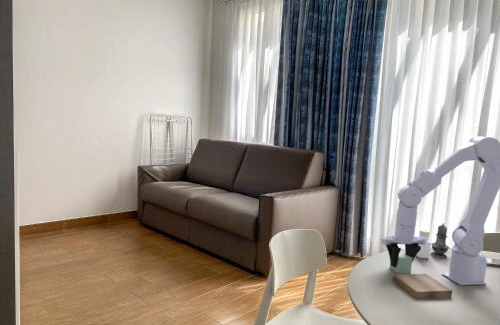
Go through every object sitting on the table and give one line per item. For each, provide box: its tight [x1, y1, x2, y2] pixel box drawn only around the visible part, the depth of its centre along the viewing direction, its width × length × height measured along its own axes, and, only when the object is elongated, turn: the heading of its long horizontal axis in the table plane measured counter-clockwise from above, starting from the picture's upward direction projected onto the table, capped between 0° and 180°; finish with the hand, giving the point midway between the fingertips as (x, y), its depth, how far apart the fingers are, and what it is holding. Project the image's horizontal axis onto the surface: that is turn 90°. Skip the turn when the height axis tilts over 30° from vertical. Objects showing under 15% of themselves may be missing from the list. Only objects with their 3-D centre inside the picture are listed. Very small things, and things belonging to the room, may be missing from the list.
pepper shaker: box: [415, 228, 432, 259], centre depth 137 cm, size 4×4×10 cm
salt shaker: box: [430, 223, 450, 259], centre depth 139 cm, size 6×6×12 cm
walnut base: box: [392, 273, 453, 300], centre depth 110 cm, size 11×11×2 cm
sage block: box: [389, 252, 413, 274], centre depth 123 cm, size 4×4×5 cm
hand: (400, 266), depth 123 cm, fingers closed on sage block, 4 cm apart
